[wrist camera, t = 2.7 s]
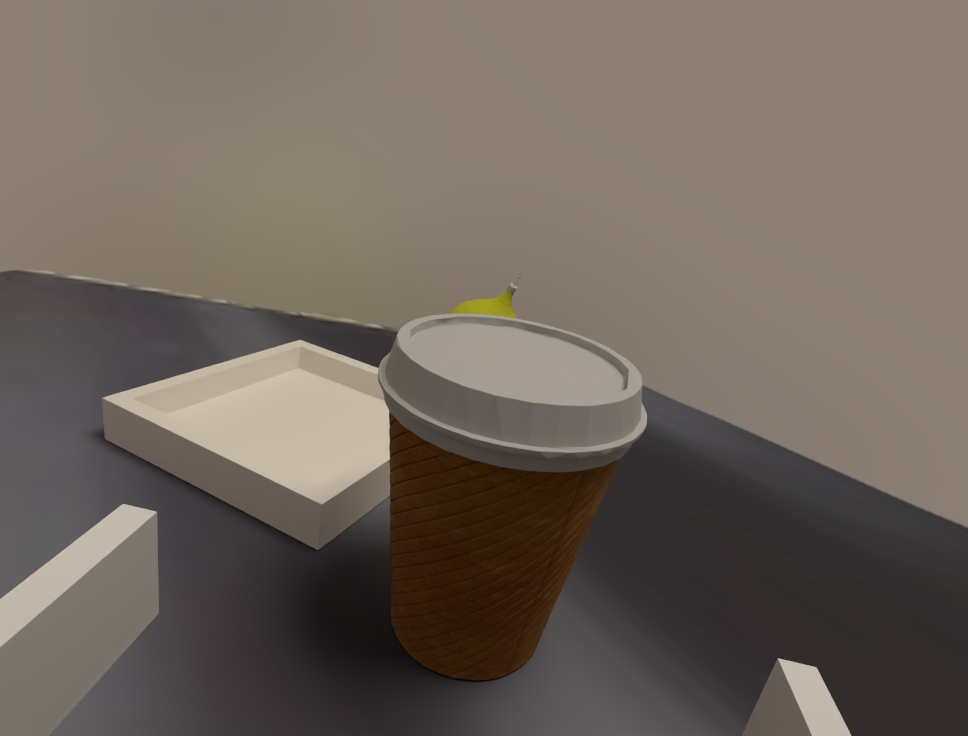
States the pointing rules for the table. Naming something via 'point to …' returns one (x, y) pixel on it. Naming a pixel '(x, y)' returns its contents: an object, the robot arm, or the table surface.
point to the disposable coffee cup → (495, 479)
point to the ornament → (489, 305)
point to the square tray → (268, 436)
